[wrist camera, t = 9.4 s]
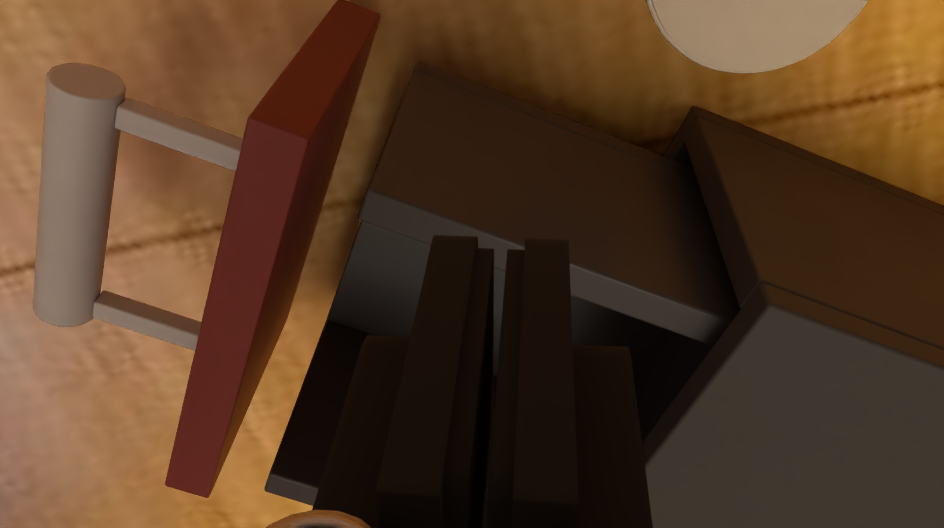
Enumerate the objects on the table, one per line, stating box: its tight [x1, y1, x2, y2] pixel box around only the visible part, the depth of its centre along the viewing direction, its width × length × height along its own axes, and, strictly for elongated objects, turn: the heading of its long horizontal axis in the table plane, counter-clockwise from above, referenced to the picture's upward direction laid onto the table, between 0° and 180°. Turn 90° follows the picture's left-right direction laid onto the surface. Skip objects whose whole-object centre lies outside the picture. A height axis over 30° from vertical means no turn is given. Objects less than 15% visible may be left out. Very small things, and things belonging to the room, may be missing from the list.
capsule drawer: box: [33, 0, 741, 528], centre depth 22 cm, size 18×11×8 cm, turn 69°
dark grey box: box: [642, 106, 944, 528], centre depth 23 cm, size 15×13×10 cm
